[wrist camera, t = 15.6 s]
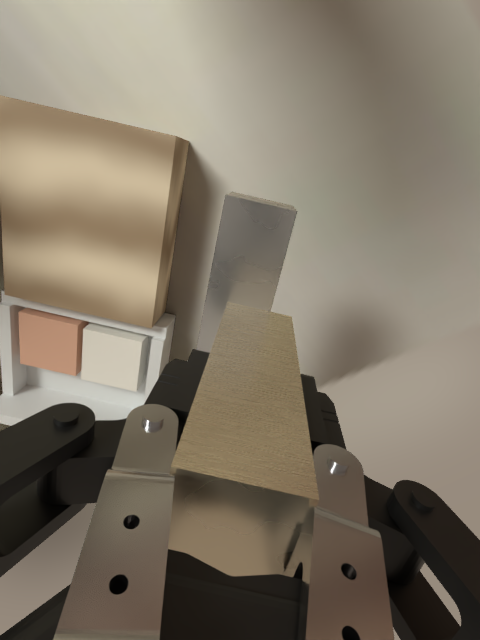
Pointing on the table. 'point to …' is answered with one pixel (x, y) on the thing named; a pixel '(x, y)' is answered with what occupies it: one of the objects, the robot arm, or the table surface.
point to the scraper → (245, 408)
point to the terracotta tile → (51, 341)
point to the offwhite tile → (113, 356)
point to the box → (54, 387)
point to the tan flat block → (88, 211)
